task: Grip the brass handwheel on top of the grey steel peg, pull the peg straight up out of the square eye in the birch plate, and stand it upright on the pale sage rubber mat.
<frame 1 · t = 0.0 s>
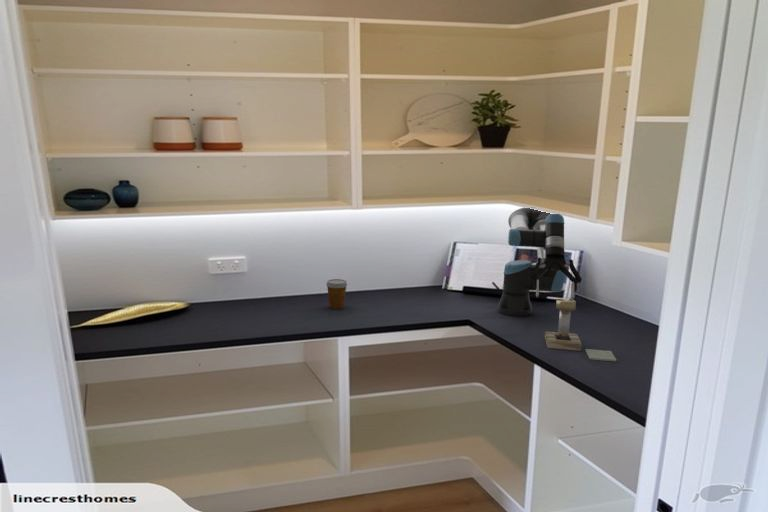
hand: (555, 297, 223), 15 cm above the counter, tool tilted 35°, fingers open, 13 cm apart
disposable coffee cup: (336, 307, 256), on the counter
rubber mat: (600, 355, 203), on the counter
steel peg: (564, 322, 213), in the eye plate
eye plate: (562, 343, 214), on the counter
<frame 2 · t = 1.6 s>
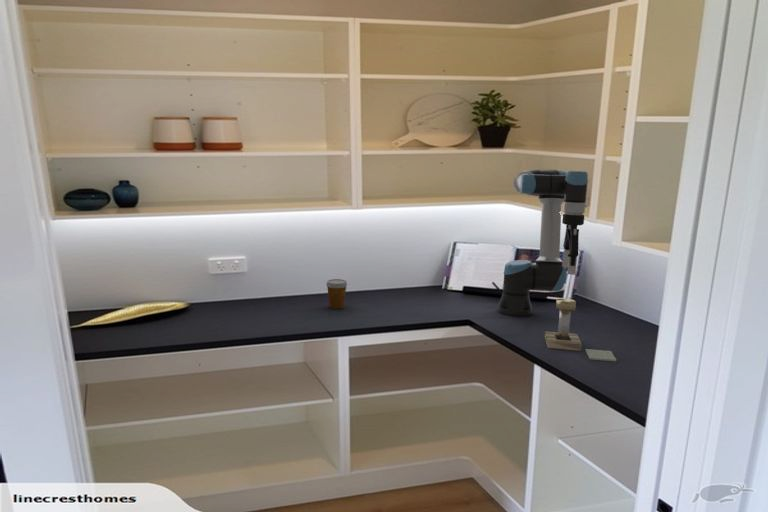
hand: (568, 270, 209), 29 cm above the counter, tool pointing down, fingers open, 13 cm apart
nothing on the counter moved.
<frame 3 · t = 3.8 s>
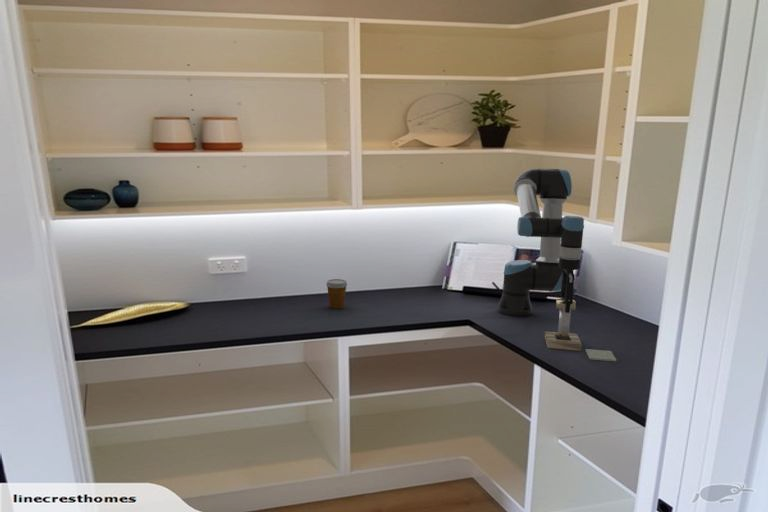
hand: (564, 317, 212), 11 cm above the counter, tool pointing down, fingers closed on steel peg, 7 cm apart
steel peg: (564, 322, 213), in the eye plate, touching gripper
everything else where it was.
when the fingers open (12 cm above the counter, at t = 10.5 s): steel peg drops 1 cm, resting on rubber mat.
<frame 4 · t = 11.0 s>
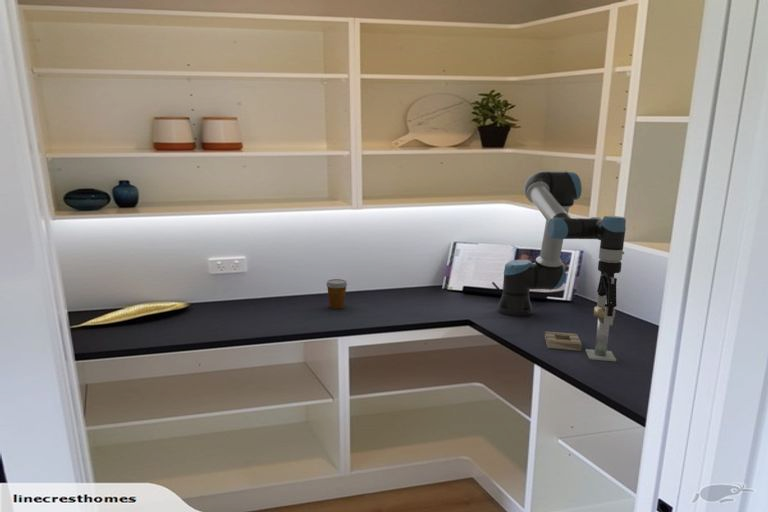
hand: (604, 319, 200), 14 cm above the counter, tool pointing down, fingers open, 13 cm apart
steel peg: (602, 331, 201), on the rubber mat, point 9 cm above the counter
everything else where it was.
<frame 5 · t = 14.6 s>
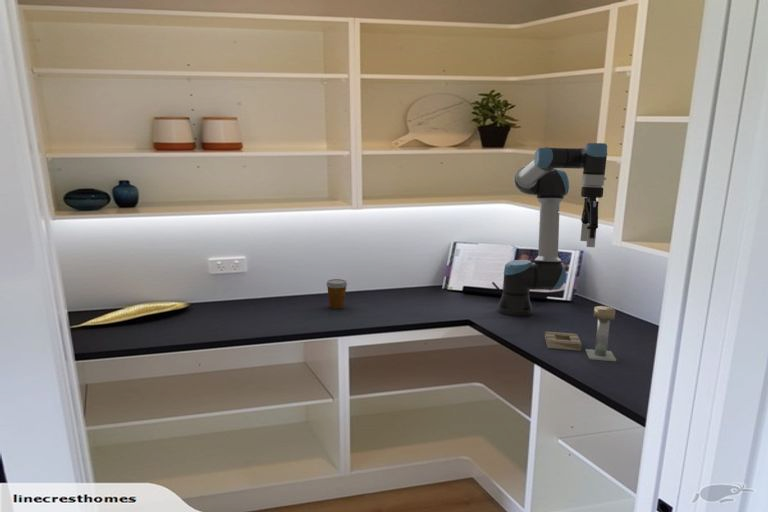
hand: (587, 244, 208), 39 cm above the counter, tool pointing down, fingers open, 13 cm apart
nothing on the counter moved.
at the end: steel peg inside the target area (0.0 cm from its centre), point 9.1 cm above the counter; steel peg tilted 1°; the gripper is holding nothing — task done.
